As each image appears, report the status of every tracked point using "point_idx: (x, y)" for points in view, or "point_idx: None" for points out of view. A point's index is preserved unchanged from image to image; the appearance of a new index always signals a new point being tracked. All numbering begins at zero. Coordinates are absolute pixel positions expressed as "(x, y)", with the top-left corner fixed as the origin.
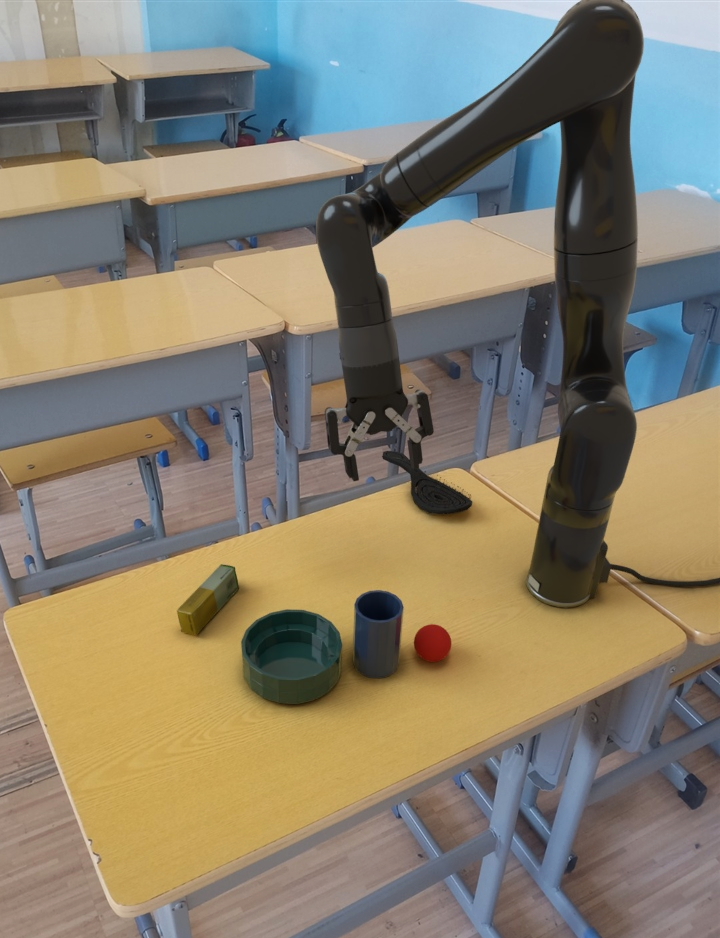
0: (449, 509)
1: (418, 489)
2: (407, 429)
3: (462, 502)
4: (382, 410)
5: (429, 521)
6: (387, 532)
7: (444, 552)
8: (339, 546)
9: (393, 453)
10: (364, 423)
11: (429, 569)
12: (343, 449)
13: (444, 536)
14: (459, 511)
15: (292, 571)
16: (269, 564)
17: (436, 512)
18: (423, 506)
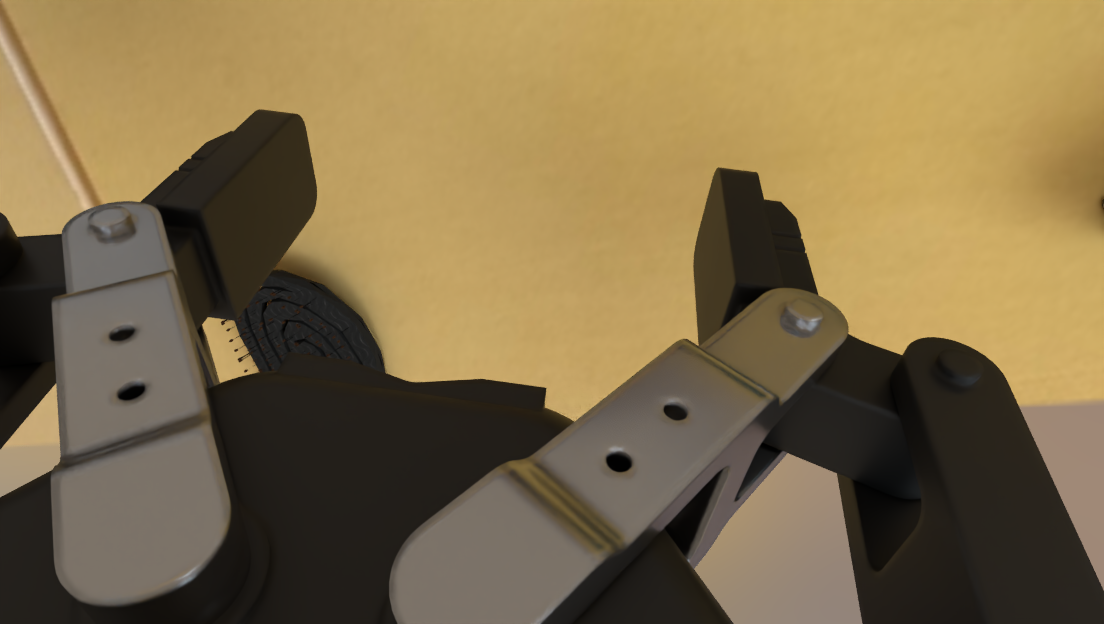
0: (298, 287)
1: None
2: (116, 282)
3: (255, 310)
4: (254, 614)
5: (372, 294)
6: (503, 293)
7: (373, 144)
8: (666, 286)
9: None
10: (600, 509)
11: (443, 80)
12: (841, 371)
13: (351, 216)
14: (273, 271)
15: (868, 226)
16: (922, 285)
17: (340, 303)
18: (368, 346)
